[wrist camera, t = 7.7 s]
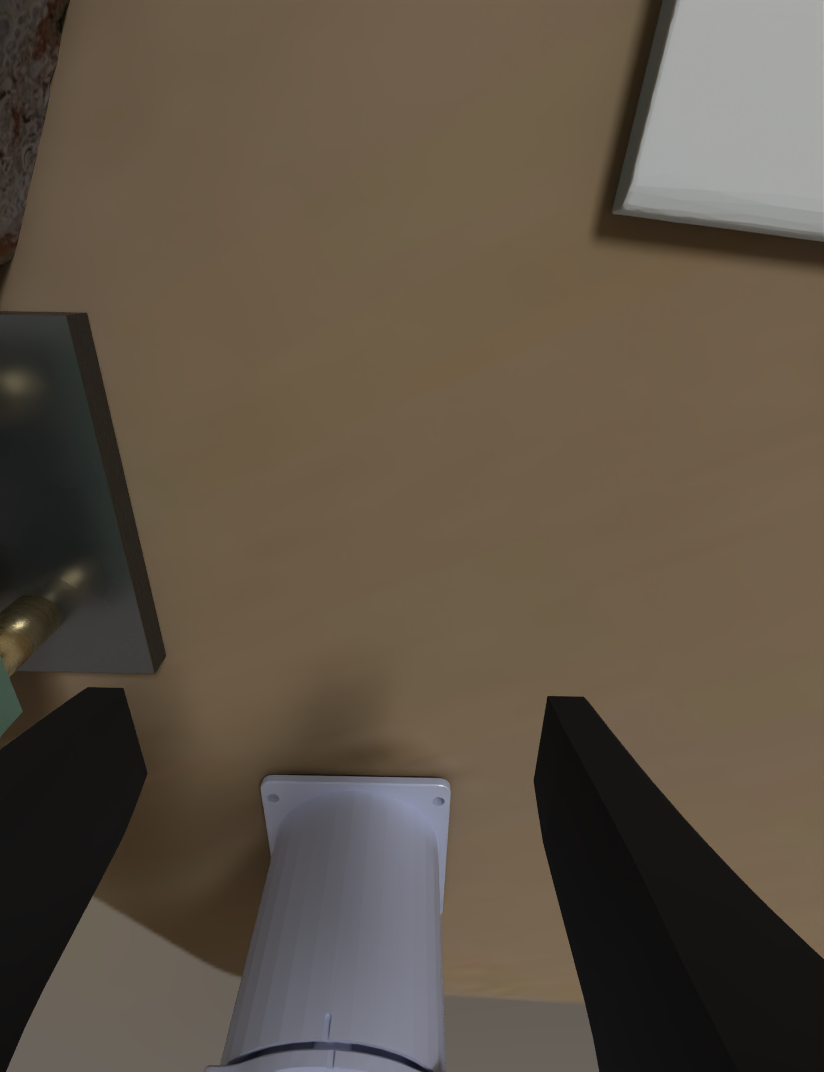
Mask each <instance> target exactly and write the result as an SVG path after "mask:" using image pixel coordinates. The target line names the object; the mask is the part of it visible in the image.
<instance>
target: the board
mask: <svg viewBox="0 0 824 1072" xmlns="http://www.w3.org/2000/svg"><path fill="white" fill-rule="evenodd" d="M22 712H23V710H22V708H21V705H20V703H19V701H18V698H17V696H16V693H15V691H14V688H13V686H12V683H11V681H10V678H9V676H8V673H7V671H6V668H5V666H4V663H3V661H2V658H1V656H0V737H1V736H2V734H3V733H4V732H5V731H6V730H7V729H8V728H9V727H10V725H11V724H12V723H13V722H14V721H15V720H16V719H17V718H18V716H19V715H20V714H21V713H22Z"/></svg>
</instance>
